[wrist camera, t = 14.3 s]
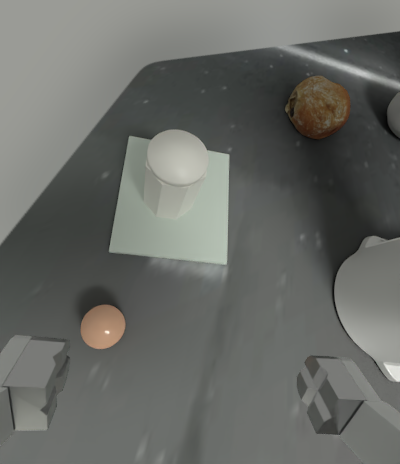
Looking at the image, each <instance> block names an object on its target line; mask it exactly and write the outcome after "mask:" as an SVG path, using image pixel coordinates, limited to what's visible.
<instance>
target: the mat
mask: <svg viewBox="0 0 400 464" xmlns="http://www.w3.org/2000/svg"><path fill="white" fill-rule="evenodd" d="M150 142H151V140H149V139H144V138H138V137H133V136H129V140H128V145H127V151H126V157H125V162H124V168H123V174H122V179H121V185H120V191H119V196H118V202H117V208H116V213H115V219H114V225H113V230H112V236H111V242H110V247H109V253H119V254H128V255H137V256H147V257H156V258H165V259H175V260H184V261H193V262H203V263H212V264H221V265H226V264H227V237H228V191H229V154H224V153H219V152H213V151H208V150H207V152H208V156H209V163H208V167H207V172H206V178H205V180H204V182H203V184H202V186H201V188H200V190H199V193H198V195H197V197H196V199H195V201H194V203H193V205H192V208H191V209H190V210H188V211H187V212H186V213H184V214H183V215H182V216H180V217H179V218H178V219H169V218H161V217H156V216H155V215H154V214H153V212H152V211H151V210H150V209H149V208H148V207H147V205H146V204H145V203H144V202H143V201H144V184H145V167H146V160H147V150H148V145H149V143H150Z"/></svg>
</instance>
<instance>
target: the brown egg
mask: <svg viewBox="0 0 400 464" xmlns="http://www.w3.org/2000/svg"><path fill="white" fill-rule="evenodd" d="M125 328H126V321H125V318H124V316H123V314H122V313H121V312H120V311H119V310H118V309H117V308H115V307H114V306H111V305H99V306H96V307H94V308H92V309H91V310H90V311H89V312H88V313H87V314H86V315H85V316H84V318H83V320H82V323H81V335H82V338H83V340H84V341H85V342H86V344H88V345H89V346H90V347H93V348H96V349H105V348H108V347H110V346H112V345H114V344H115V343H116V342H118V341H119V340H120V339H121V337H122V336H123V334H124V332H125Z"/></svg>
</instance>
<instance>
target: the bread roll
mask: <svg viewBox="0 0 400 464" xmlns="http://www.w3.org/2000/svg"><path fill="white" fill-rule="evenodd" d="M285 111H286V113H287V114H288V116H289V118H290V120H291V122H292V123H293V124H294V126H295V128H296V129H297V130H298V131H299V132H300V133H301V134H302V135H304V136H306V137H309V138H312V139H321V138H324V137H327V136H329V135H331V134H334V133H335V132H336V131H338V130H339V129H341V127H342V126H343V125H344V124H345V123H346V121H347V119H348V117H349V114H350V97H349V95H348V92H347V90H346V89H344V87H342V86H341V85H340V84H337V83H333V82H330V81H329V80H328V79H326V78H325V77H323V76H312V77H309V78H307V79H305V80H304V81H302V82H301V83H300V84H298V85H297V86H296V88H295V89H294V91H293V92H292V94H291V96H290V98H289V100H288V104H287V105H286V106H285Z"/></svg>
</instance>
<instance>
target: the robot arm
mask: <svg viewBox="0 0 400 464" xmlns="http://www.w3.org/2000/svg"><path fill="white" fill-rule="evenodd" d="M334 296H335V304H336V308H337V312H338V315H339V318H340V320H341V322H342V324H343V326H344V328H345V330H346V331H347V333H348V334H349V336H350V337H351V339H352V340H353V341H354V342H355V343H356V344H357V345H358V346H359V347H360V348H361V349H362V350H363V351H365V352H366V353H367V354H368V355H370V356H371V357H372V358H373V359H374V360H375V361H376V363H377V365H378V366H379V368H380V369H381V371H382V372H383V374H384V375H385V376H386V377H387V378H388V379H389V380H390V381H394V382H400V237H399V238H395V239H392V240H385V239H383V238H380V237H377V236H370V237H366V238H365V239H364V240H363V241H362V243H361V245H360V247H359V250H358V251H357V252H356V253H355V254H353V255H352V256H350V257H349V258H348V259H346V260H345V261H344V263H343V264H342V265H341V267H340V269H339V271H338V273H337V276H336V280H335V287H334ZM69 348H70V342H69V340H68V339H58V338H48V337H37V336H24V335H15V336H14V337H12V338H11V339H10V340H9V342H8V343H7V345H6V346H5V348H4V349H3V351H2V352H1V353H0V446H1V445H2V444H3V443H4V442H5V441H6V440H7V439H8V438H9V437H10V436H11V435H12V434H13V433H14V431H25V430H48V428H49V425H50V423H51V420H52V417H53V415H54V412H55V410H56V407H57V395H58V394H59V393H61V392H62V391H63V388H64V385H65V383H66V379H67V375H68V371H69V364H70V358H69V357H68V356H67V353H68V351H69ZM304 363H305V365H306V367H305V368H304V369H302V370H301V371H300V372H299V375H298V377H297V389H298V393H299V395H300V398H301V400H302V401H303V402H304V403H305V404H306V405H307V406H308V411H307V414H308V416H309V418H310V421H311V423H312V425H313V428H314V430H315V432H316V434H328V435H340V436H339V437H340V438H341V439H342V440H343V441H344V442H345V444H346V445H347V446H348V447H349V448H350V449H351V450H352V451H353V453H354V454H355V455H356V456H357V457H358V458H359V459H360V460H361V462H362V463H363V464H400V412H398V411H397V410H396V409H394V408H393V407H392V406H391V405H389V404H388V403H387V402H382V401H381V400H380V398H379V397H378V395H377V394H376V392H375V391H374V390H373V388H372V387H371V385H370V384H369V382H368V381H367V380H366V378H365V377H364V375H363V374H362V373H361V371H360V370H359V368H358V367H357V365H356V364H355V363H354V361H353V360H351V359H350V358H343V357H330V356H312V355H311V356H309V357H307V359H306V361H305V362H304Z"/></svg>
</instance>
